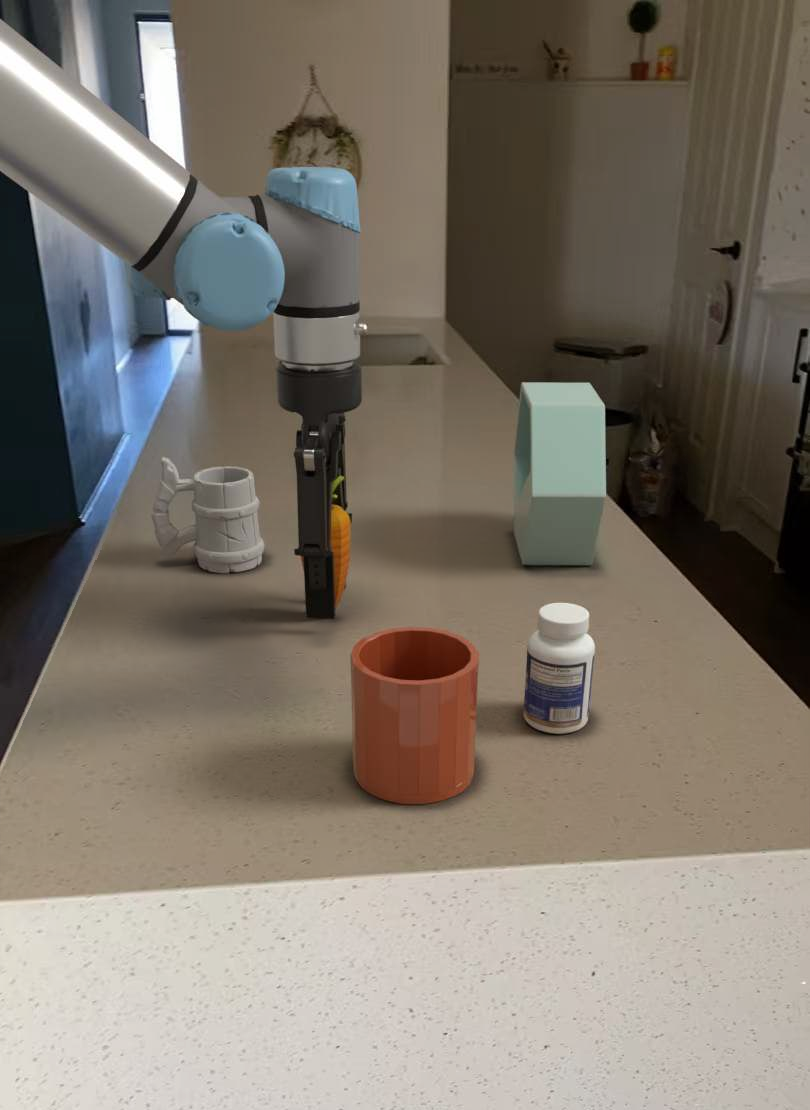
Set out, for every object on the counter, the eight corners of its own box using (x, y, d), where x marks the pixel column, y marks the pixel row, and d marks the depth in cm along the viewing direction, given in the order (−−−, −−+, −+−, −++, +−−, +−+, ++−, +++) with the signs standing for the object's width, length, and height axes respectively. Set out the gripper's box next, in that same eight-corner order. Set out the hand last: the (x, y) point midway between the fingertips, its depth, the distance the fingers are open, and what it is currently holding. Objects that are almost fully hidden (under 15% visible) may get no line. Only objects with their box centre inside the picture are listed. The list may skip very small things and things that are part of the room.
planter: (514, 579, 128) (512, 408, 130) (580, 579, 128) (577, 408, 130) (532, 549, 112) (529, 352, 113) (607, 548, 112) (604, 352, 113)
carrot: (305, 606, 110) (298, 461, 103) (354, 607, 110) (351, 462, 103) (299, 627, 106) (292, 477, 99) (350, 628, 106) (347, 478, 99)
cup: (345, 801, 80) (342, 680, 75) (362, 736, 88) (360, 624, 83) (471, 808, 79) (476, 687, 74) (476, 742, 87) (480, 629, 82)
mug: (267, 572, 118) (261, 463, 112) (156, 579, 116) (144, 469, 111) (262, 546, 125) (256, 443, 119) (157, 553, 123) (145, 448, 117)
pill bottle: (542, 697, 94) (550, 593, 89) (599, 715, 91) (609, 609, 86) (510, 723, 90) (516, 615, 85) (568, 742, 87) (578, 632, 83)
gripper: (345, 388, 87) (350, 646, 98) (374, 341, 104) (376, 566, 115) (252, 386, 88) (268, 643, 99) (296, 339, 105) (306, 563, 116)
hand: (326, 601), depth 107 cm, fingers open, 6 cm apart
